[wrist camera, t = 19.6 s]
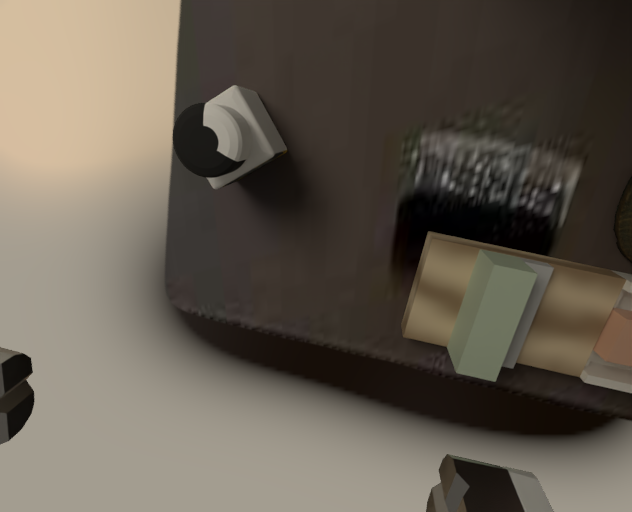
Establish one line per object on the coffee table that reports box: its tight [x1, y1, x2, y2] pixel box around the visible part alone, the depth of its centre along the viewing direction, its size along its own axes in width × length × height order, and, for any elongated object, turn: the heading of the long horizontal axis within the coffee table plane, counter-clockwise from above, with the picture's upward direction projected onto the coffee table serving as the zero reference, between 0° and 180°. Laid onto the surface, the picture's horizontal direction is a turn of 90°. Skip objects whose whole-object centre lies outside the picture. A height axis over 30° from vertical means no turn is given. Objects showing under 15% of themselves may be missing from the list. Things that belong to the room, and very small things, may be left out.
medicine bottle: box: [173, 85, 287, 189], centre depth 38 cm, size 7×7×12 cm
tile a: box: [593, 307, 632, 367], centre depth 42 cm, size 5×5×3 cm
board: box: [401, 231, 626, 377], centre depth 45 cm, size 12×20×3 cm, turn 80°
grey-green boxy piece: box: [447, 249, 554, 382], centre depth 41 cm, size 12×7×5 cm, turn 170°
